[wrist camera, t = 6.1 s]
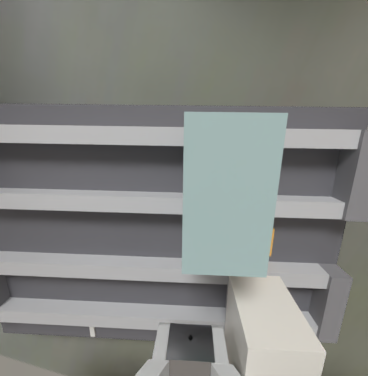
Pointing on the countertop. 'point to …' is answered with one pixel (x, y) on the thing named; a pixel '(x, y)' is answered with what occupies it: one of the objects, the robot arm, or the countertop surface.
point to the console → (159, 218)
